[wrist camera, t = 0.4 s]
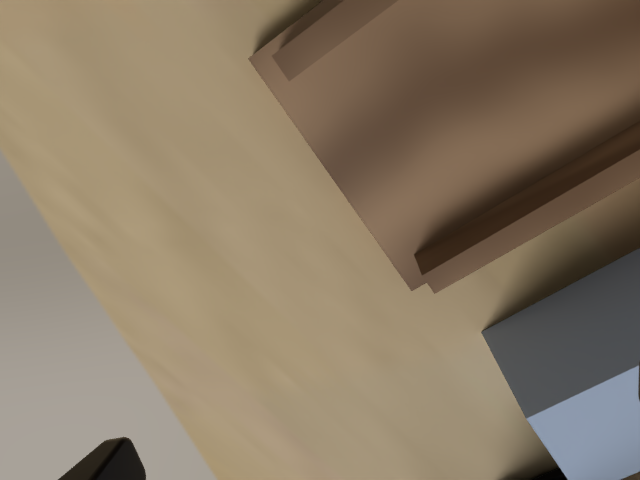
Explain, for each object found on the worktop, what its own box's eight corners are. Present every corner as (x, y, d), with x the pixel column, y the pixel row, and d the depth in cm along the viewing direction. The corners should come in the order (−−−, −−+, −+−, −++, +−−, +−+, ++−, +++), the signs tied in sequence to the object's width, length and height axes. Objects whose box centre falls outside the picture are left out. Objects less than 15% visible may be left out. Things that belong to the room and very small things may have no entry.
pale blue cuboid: (695, 314, 23) (809, 399, 18) (524, 397, 25) (579, 496, 20) (658, 235, 22) (771, 302, 16) (480, 330, 24) (526, 418, 18)
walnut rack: (707, 106, 19) (770, 118, 17) (408, 280, 23) (419, 314, 20) (589, -204, 16) (644, -256, 13) (251, 57, 19) (238, 60, 16)
